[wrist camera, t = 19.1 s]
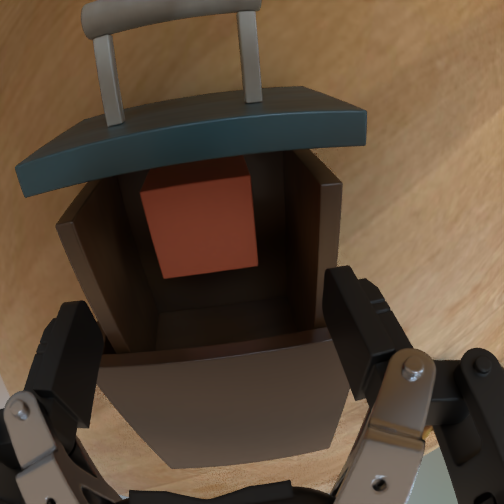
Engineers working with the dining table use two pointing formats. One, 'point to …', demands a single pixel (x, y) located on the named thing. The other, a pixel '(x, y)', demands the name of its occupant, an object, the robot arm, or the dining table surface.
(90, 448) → the dining table surface
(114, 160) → the drawer
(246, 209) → the block
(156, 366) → the cabinet
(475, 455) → the robot arm
